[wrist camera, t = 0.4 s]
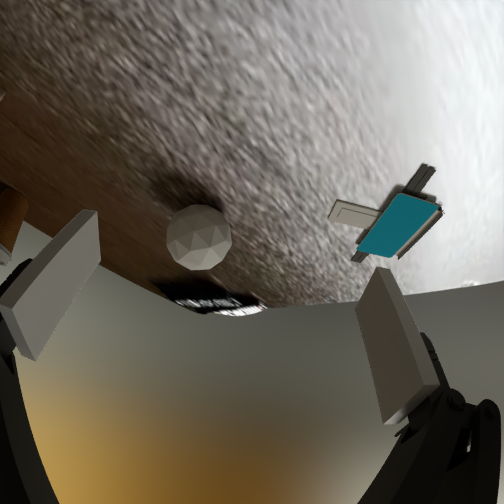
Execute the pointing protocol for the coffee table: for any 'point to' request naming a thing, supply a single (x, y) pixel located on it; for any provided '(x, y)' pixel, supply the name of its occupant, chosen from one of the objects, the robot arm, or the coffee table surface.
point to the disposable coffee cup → (10, 221)
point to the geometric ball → (198, 237)
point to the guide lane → (2, 93)
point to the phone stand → (392, 220)
